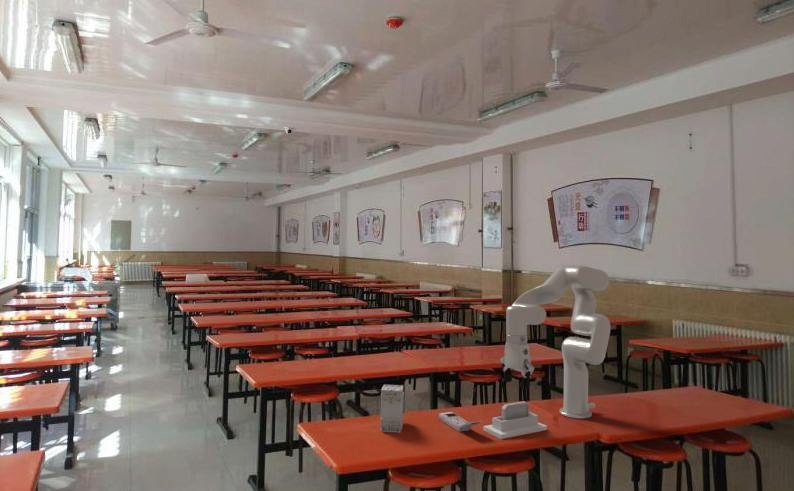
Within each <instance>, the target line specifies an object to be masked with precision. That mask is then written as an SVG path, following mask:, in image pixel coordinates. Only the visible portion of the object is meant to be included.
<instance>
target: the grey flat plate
mask: <svg viewBox="0 0 794 491" xmlns="http://www.w3.org/2000/svg"><path fill="white" fill-rule="evenodd" d="M529 412H530V404H529V403H528V402H527V401H524V400H523V401H517V402H509V403H504V405H502V407H501V416H502V419H501V421H504V420H510V419H515V418H521V417H527V416H529Z"/></svg>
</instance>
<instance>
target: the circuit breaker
mask: <svg viewBox="0 0 794 491" xmlns="http://www.w3.org/2000/svg"><path fill="white" fill-rule="evenodd" d="M380 391H381V393H380V403H381V404H380V405H381V406H380V430H379V432H381V433H382V432H384V433H386V432H387V433H399V434H400V433H401V432H402V428H403V426H404V423H403V422H404V419H403V418H404V412H405V392H404V384H400V385H399V384H383V386H381V390H380Z"/></svg>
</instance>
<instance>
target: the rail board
mask: <svg viewBox="0 0 794 491" xmlns="http://www.w3.org/2000/svg"><path fill="white" fill-rule="evenodd" d="M501 419H502V415H500V416H496V417H495V416H494V417H492V419H491V421H492V422H491V423H492V424H488V425H483V427H482V429H483V431H484V432H485V433H488V434H490V435H492V436H494V437H496V438H498V439H500V440H503V439H508V438H512V437H518V436H523V435H528V434H533V433H538V432H542V431H547V430H548V425H546V424H543V423H541V422H539V416H538V415H537V414H536V413H534V412H531V411H529V416H527V417H521V418H515V419H510V420H504V421H501Z"/></svg>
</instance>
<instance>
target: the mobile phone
mask: <svg viewBox="0 0 794 491" xmlns="http://www.w3.org/2000/svg"><path fill="white" fill-rule="evenodd" d="M438 414H439V415H438V418H439V419H440V420H441V422H442V423H444V424H447V425H448V426H449V427H451V428H452V429H454V430H456V431H457V432H459V433H460V432H468V431H470V430H471V429H472V427H473V426H477V425H478V424H481V423H483V420H481V421H472V422H470V421H469V422H468V421H467V420H465V419H464V418H462V417H460V416H459V415H458V414H456V413H455V412H452V411H447V412H441V413H440V412H439V413H438Z"/></svg>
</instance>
